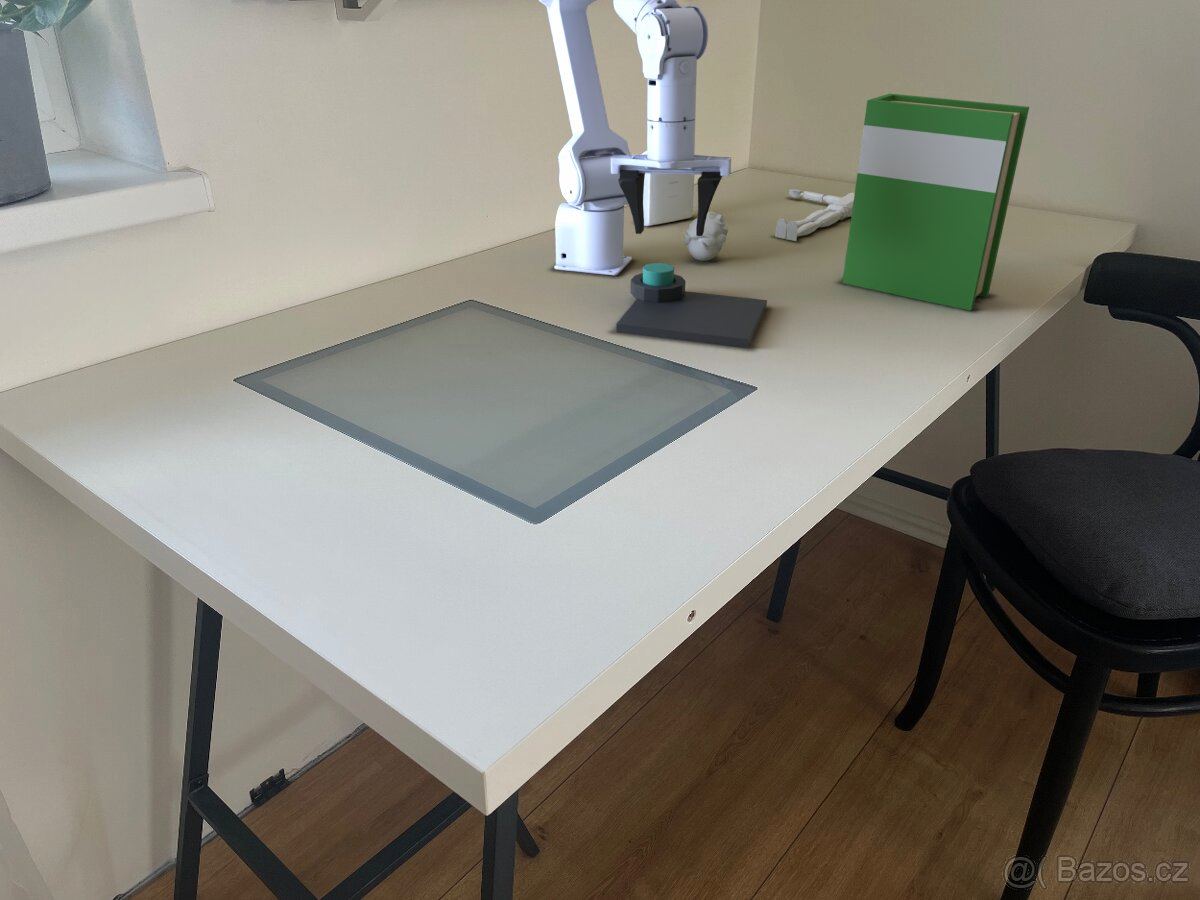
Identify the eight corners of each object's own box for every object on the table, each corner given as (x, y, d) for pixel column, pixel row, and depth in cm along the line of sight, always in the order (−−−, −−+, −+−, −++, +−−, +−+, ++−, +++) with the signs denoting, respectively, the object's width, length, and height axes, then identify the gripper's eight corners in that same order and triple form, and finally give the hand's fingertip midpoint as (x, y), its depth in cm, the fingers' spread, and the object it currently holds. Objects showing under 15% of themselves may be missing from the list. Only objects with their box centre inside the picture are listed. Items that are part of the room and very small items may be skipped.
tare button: (639, 286, 119) (639, 270, 118) (647, 276, 122) (647, 261, 121) (669, 289, 118) (669, 273, 117) (676, 279, 121) (677, 264, 120)
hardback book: (988, 295, 124) (1029, 106, 112) (970, 310, 119) (1011, 114, 107) (863, 270, 133) (889, 93, 122) (842, 283, 128) (867, 100, 116)
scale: (604, 331, 112) (604, 307, 111) (639, 291, 125) (639, 269, 124) (747, 348, 107) (749, 324, 106) (768, 305, 120) (770, 283, 119)
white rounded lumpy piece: (735, 258, 138) (738, 212, 134) (705, 269, 133) (708, 221, 130) (703, 250, 141) (706, 204, 138) (673, 260, 137) (675, 213, 134)
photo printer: (647, 228, 152) (649, 150, 146) (632, 222, 155) (633, 146, 149) (696, 219, 157) (700, 143, 151) (680, 213, 160) (684, 139, 154)
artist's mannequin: (715, 205, 153) (809, 170, 172) (714, 227, 155) (807, 190, 174) (866, 236, 137) (950, 194, 156) (863, 261, 139) (947, 216, 158)
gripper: (604, 123, 108) (606, 238, 114) (728, 124, 105) (724, 242, 111) (617, 115, 114) (618, 225, 120) (734, 116, 111) (729, 229, 117)
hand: (669, 233), depth 116 cm, fingers open, 7 cm apart
